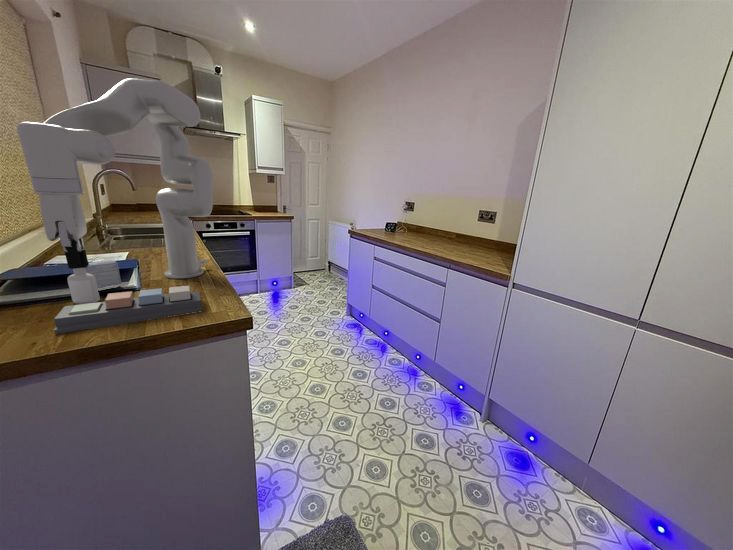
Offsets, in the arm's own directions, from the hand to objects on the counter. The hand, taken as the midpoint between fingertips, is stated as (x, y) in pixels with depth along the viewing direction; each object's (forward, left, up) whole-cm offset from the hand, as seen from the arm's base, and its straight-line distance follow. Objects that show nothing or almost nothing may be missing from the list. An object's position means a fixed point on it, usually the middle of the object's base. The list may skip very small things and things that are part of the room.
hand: (79, 267), depth 68 cm
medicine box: (-16, -18, -14) cm, 28 cm away
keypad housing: (-6, +7, -14) cm, 17 cm away
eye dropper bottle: (-7, -12, -14) cm, 20 cm away
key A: (-13, +14, -10) cm, 22 cm away
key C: (0, 0, -12) cm, 12 cm away
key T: (-9, +9, -10) cm, 17 cm away
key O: (-4, +5, -10) cm, 12 cm away
